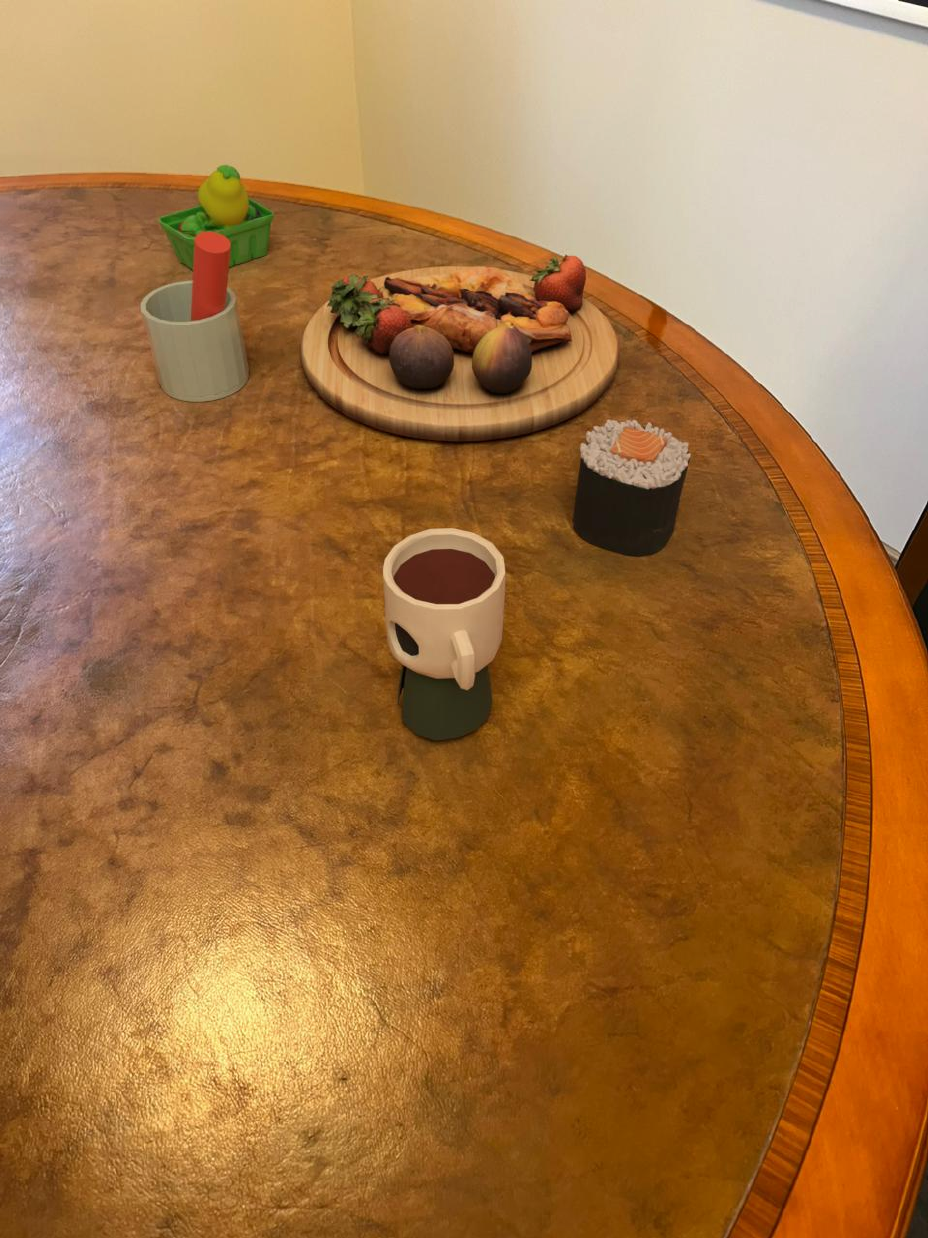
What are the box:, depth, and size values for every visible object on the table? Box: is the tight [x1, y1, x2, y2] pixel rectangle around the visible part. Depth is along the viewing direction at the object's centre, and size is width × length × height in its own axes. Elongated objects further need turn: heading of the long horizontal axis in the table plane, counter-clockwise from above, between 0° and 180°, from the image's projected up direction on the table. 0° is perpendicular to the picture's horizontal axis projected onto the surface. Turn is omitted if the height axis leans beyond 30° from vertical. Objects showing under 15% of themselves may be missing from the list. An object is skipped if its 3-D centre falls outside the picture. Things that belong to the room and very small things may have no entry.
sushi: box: [572, 419, 692, 558], centre depth 74 cm, size 8×8×8 cm
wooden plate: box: [299, 254, 621, 442], centre depth 92 cm, size 32×32×8 cm
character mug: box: [382, 527, 507, 742], centre depth 58 cm, size 11×7×13 cm, turn 15°
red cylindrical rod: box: [191, 232, 231, 321], centre depth 85 cm, size 3×3×14 cm
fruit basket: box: [157, 164, 275, 271], centre depth 106 cm, size 11×9×11 cm
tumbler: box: [139, 279, 250, 403], centre depth 89 cm, size 9×9×8 cm
